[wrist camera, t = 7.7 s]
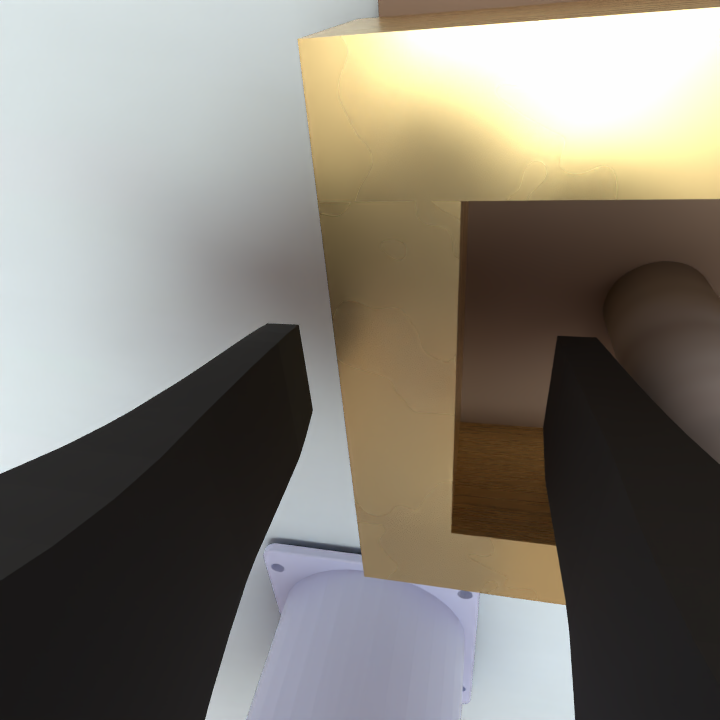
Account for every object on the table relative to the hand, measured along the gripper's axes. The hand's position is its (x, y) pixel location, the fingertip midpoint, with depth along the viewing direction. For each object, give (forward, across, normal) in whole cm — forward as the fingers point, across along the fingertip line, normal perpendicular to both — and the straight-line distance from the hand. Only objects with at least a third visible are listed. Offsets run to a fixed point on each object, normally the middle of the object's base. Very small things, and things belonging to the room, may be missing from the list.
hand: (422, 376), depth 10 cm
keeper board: (+4, -4, 0) cm, 6 cm away
